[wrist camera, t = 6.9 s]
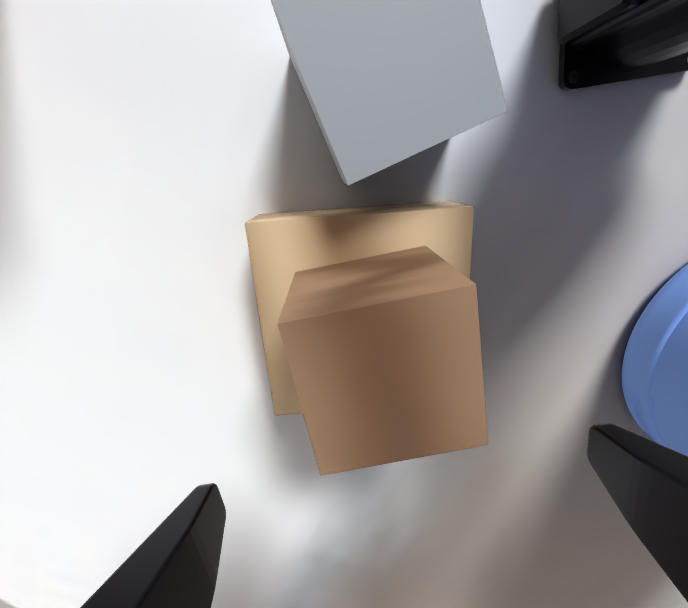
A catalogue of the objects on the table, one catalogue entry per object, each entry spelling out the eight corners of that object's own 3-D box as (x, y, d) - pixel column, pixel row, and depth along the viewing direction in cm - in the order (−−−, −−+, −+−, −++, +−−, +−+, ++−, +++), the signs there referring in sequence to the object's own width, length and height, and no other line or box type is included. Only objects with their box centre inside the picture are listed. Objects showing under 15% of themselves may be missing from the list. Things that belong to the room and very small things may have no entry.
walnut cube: (425, 245, 16) (476, 284, 11) (439, 360, 18) (488, 444, 13) (295, 272, 16) (277, 323, 11) (323, 383, 18) (320, 475, 13)
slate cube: (410, -6, 16) (454, -102, 10) (451, 130, 18) (507, 111, 12) (289, 57, 17) (270, -3, 11) (342, 182, 19) (348, 185, 13)
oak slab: (446, 200, 20) (474, 206, 16) (441, 363, 23) (463, 400, 19) (261, 213, 19) (244, 222, 16) (283, 375, 23) (274, 415, 19)
